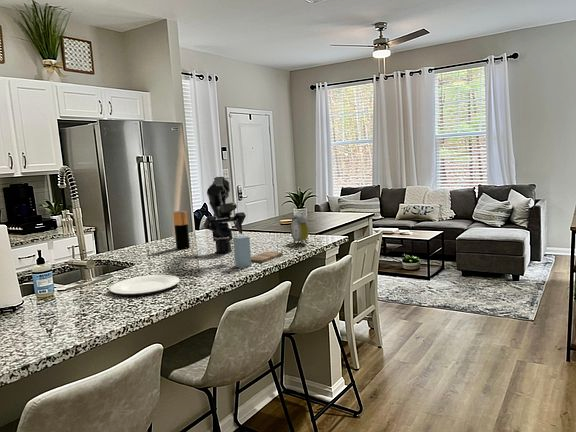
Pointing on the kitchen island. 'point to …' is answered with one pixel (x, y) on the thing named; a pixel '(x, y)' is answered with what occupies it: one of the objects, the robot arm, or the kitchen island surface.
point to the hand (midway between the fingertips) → (232, 235)
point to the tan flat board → (265, 256)
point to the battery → (181, 229)
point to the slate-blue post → (242, 251)
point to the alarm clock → (299, 228)
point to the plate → (144, 284)
